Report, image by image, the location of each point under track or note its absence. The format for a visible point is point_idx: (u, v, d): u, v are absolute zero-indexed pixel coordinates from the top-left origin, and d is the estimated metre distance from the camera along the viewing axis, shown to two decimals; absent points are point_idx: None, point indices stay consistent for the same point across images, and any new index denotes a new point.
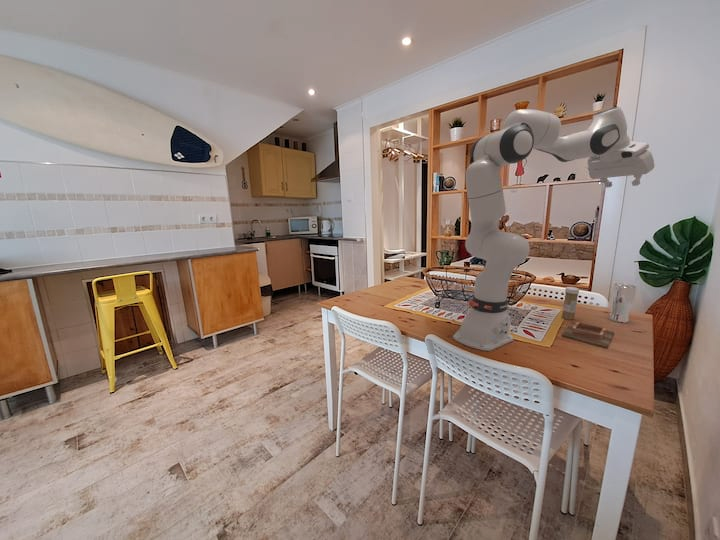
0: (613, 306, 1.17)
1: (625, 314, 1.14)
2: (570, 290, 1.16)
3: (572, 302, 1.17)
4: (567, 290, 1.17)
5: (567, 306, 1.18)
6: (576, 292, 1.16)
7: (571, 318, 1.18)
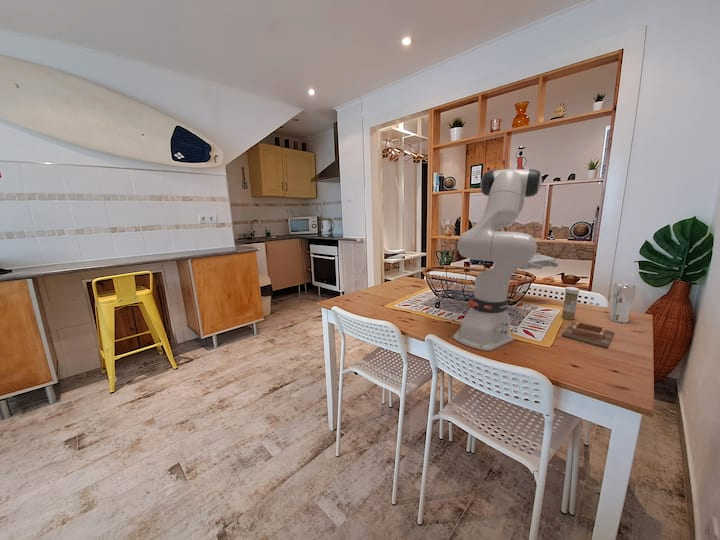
0: (613, 306, 1.17)
1: (625, 314, 1.14)
2: (570, 290, 1.16)
3: (572, 302, 1.17)
4: (567, 290, 1.17)
5: (567, 306, 1.18)
6: (576, 292, 1.16)
7: (571, 318, 1.18)
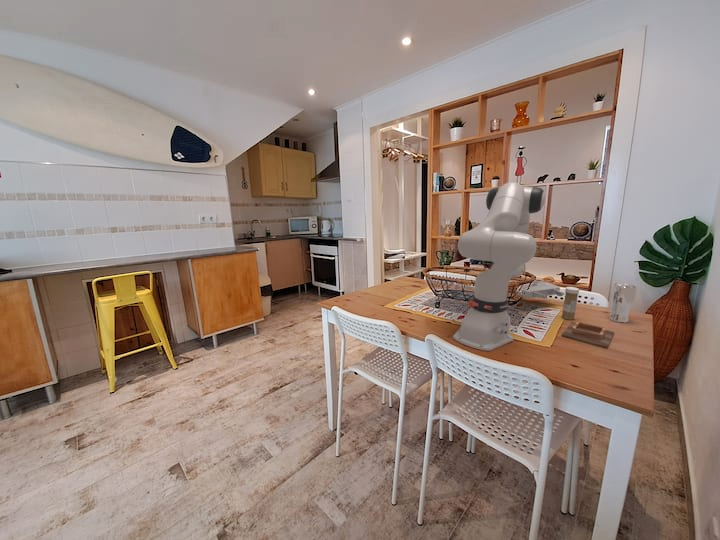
0: (613, 306, 1.17)
1: (625, 314, 1.14)
2: (570, 290, 1.16)
3: (572, 302, 1.17)
4: (567, 290, 1.17)
5: (567, 306, 1.18)
6: (576, 292, 1.16)
7: (571, 318, 1.18)
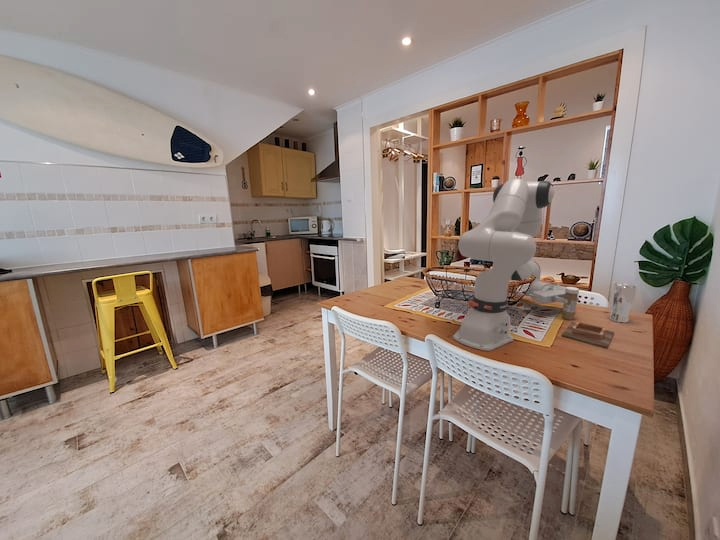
0: (613, 306, 1.17)
1: (625, 314, 1.14)
2: (570, 290, 1.16)
3: (572, 302, 1.17)
4: (567, 290, 1.17)
5: (567, 306, 1.18)
6: (576, 292, 1.16)
7: (571, 318, 1.18)
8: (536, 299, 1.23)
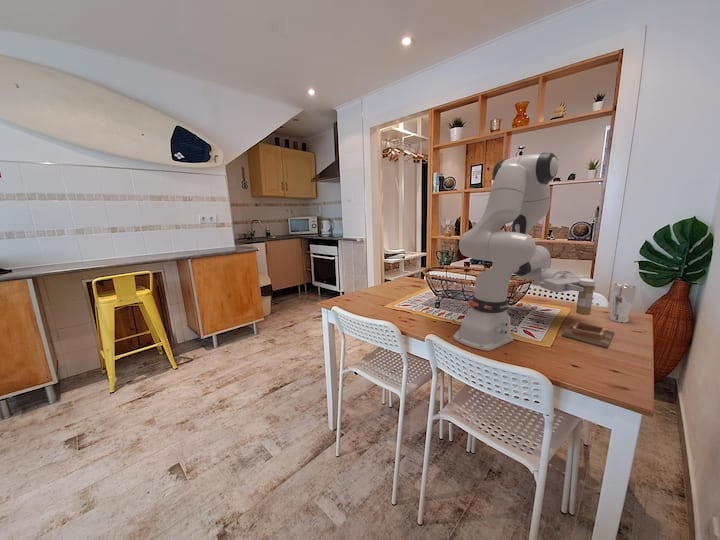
0: (613, 306, 1.17)
1: (625, 314, 1.14)
2: (585, 282, 1.05)
3: (587, 295, 1.05)
4: (581, 282, 1.06)
5: (582, 300, 1.06)
6: (592, 284, 1.04)
7: (587, 313, 1.06)
8: (548, 287, 1.11)
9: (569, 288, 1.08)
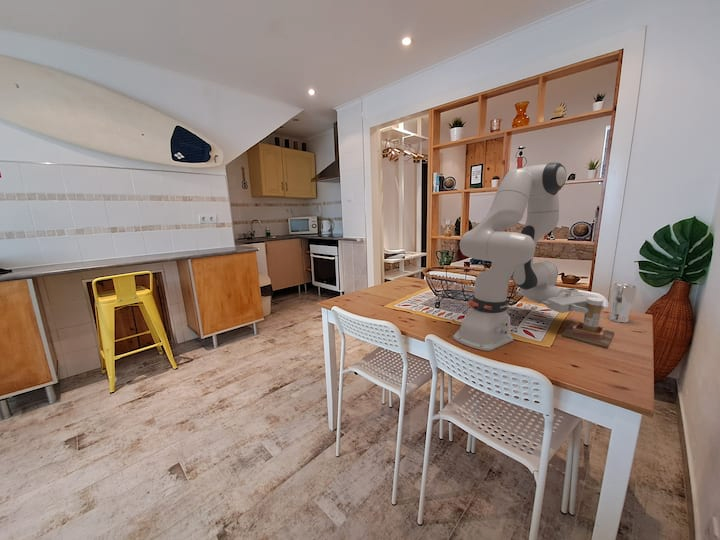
0: (613, 306, 1.17)
1: (625, 314, 1.14)
2: (592, 301, 1.00)
3: (595, 315, 1.01)
4: (589, 301, 1.01)
5: (589, 320, 1.02)
6: (600, 304, 1.00)
7: None
8: (552, 307, 1.07)
9: (572, 309, 1.04)
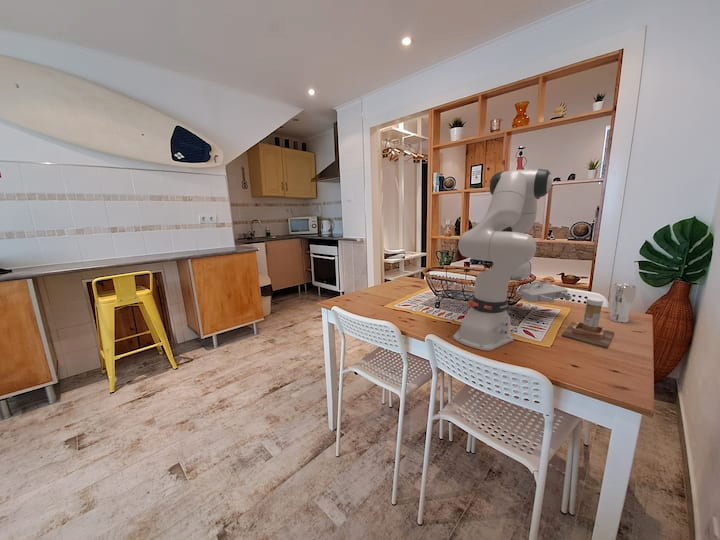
0: (613, 306, 1.17)
1: (625, 314, 1.14)
2: (592, 301, 1.00)
3: (595, 315, 1.01)
4: (589, 301, 1.01)
5: (588, 320, 1.02)
6: (599, 304, 1.00)
7: None
8: (524, 297, 1.19)
9: (540, 299, 1.15)
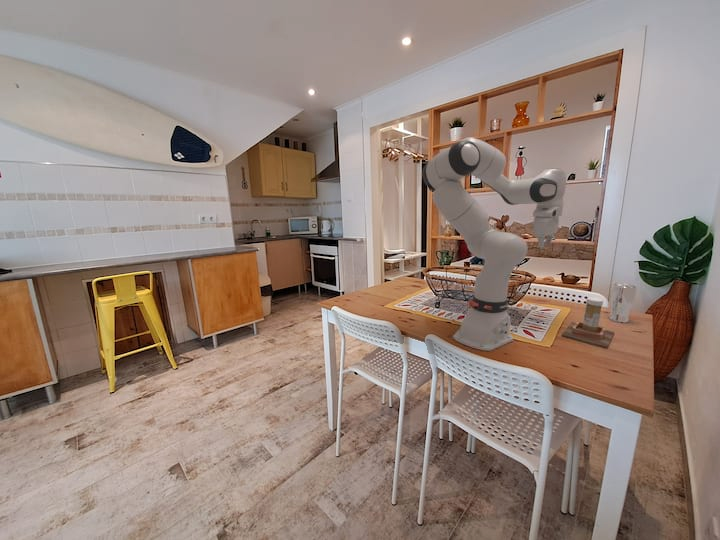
0: (613, 306, 1.17)
1: (625, 314, 1.14)
2: (592, 301, 1.00)
3: (595, 315, 1.01)
4: (589, 301, 1.01)
5: (589, 320, 1.02)
6: (600, 304, 1.00)
7: None
8: None
9: None
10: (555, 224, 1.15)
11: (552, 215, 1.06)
